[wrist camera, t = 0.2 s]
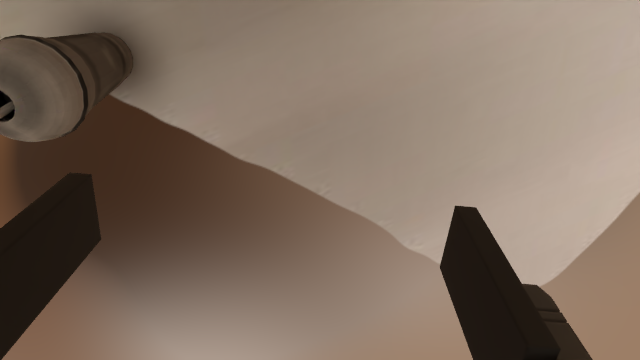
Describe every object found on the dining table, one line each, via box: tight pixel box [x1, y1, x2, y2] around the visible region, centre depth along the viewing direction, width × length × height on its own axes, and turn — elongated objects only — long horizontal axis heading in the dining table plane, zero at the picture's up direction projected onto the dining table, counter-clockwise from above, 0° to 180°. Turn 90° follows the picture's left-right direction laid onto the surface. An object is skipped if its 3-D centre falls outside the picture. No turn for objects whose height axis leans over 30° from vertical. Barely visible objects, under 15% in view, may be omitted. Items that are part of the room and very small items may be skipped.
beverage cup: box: [0, 33, 133, 142], centre depth 32 cm, size 7×7×20 cm
